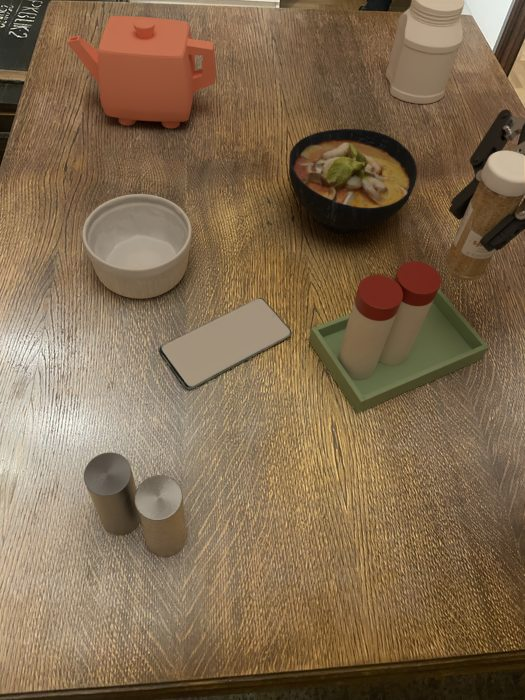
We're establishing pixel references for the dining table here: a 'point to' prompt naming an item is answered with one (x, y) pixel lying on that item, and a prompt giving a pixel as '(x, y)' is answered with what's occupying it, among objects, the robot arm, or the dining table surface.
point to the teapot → (147, 68)
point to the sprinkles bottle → (486, 213)
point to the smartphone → (224, 342)
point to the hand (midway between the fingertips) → (469, 230)
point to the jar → (425, 50)
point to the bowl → (351, 177)
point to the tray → (423, 360)
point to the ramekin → (138, 244)
